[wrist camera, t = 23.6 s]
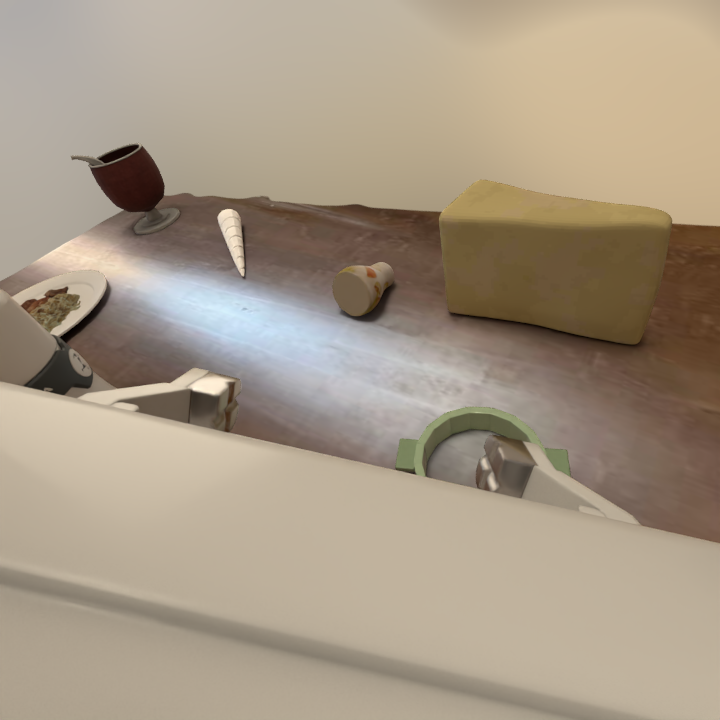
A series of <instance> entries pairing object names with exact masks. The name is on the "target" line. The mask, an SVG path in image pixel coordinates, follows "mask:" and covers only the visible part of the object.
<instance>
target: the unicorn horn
mask: <svg viewBox="0 0 720 720" xmlns="http://www.w3.org/2000/svg"><path fill="white" fill-rule="evenodd" d="M218 223H219V225H220V228H221V230H222V233H223V236H224V238H225V241H226V243H227V246H228V248H229V251H230V253H231V255H232V258H233V260H234V262H235V264H236V266H237V268H238V270H239V272H240V274H241V275H242V276H243V277H244V273H245V269H243V268H245V264H244V249H243V238H242V228H241V218H240V216H239V214H238V213H237V212H236V211H234V210H232V209H226V210H223V211H222V212H221V213H219V216H218Z"/></svg>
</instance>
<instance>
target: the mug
mask: <svg viewBox="0 0 720 720" xmlns="http://www.w3.org/2000/svg"><path fill="white" fill-rule="evenodd" d="M393 281H394V273H393V270H392V268H391V267H390V266H389V265H387V264H386V263H382V262H380V263H376V264H375V265H373V266H350V267H347V268H345V269H343V270H342V271H341V272H339V273H338V274H337V276H336V277H335V279H334V281H333V285H332V288H333V295H334V298H335V300H336V302H337V303H338V305H339V307H340V308H341V309H342V310H344V311H345V312H347V313H348V314H349V315H351V316H360V315H364V314H366V313H368V312H370V311H371V310H373V309H374V308H375V306H376V305H377V304H378V302H379V300H380V298H381V296H382V293H383V291H384V290H385V289H386V288H387V287H388V286H390V285H391V284H392V283H393Z"/></svg>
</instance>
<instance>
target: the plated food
mask: <svg viewBox="0 0 720 720" xmlns="http://www.w3.org/2000/svg"><path fill="white" fill-rule="evenodd" d="M106 288H107V280H106V278H105V276H104V275H103V274H102V273H100V272H99V271H94V270H79V271H73V272H69V273H65V274H61V275H58V276H55V277H52V278H50V279H47V280H45V281H42V282H40V283H38V284H35V285H33V286H31V287H29V288H27V289H25V290H23V291H22V292H20V293H18V294H16V295H15V296H13V297H12V298H13V299H14V300H15V301H16V302H17V303H18V304H19V305H20V306H21V307H22V308H23V309H24V310H26V311H27V312H28V313H29V314H30V315H31V316H32V317H33V318H34V319H35V320H36V321H37V322H38V323H39V324H40V325H41V326H42V327H43V328H45V329H46V330H47V331H48V332H49V333H50V334H53V335H56V336H58V337H60V336H62V335H63V334H65V333H66V332H67V331H69V330H70V329H71V328H73V327H74V326H75V325H77V324H78V323H79V322H80V321H81V320H82V319H83V318H85V317H86V316H87V315H88V314H89V313H90V312H91V311H92V310H93V308H94V307H95V306H96V305H97V304H98V302H99V301H100V300H101V298H102V297H103V295H104V293H105V290H106Z"/></svg>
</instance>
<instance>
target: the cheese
mask: <svg viewBox="0 0 720 720" xmlns="http://www.w3.org/2000/svg"><path fill="white" fill-rule="evenodd" d="M439 225H440V235H441V245H442V255H443V265H444V275H445V286H446V296H447V305H448V310H449V311H450V312H452V313H457V314H465V315H473V316H481V317H488V318H496V319H503V320H510V321H517V322H523V323H528V324H534V325H539V326H543V327H547V328H551V329H555V330H559V331H563V332H567V333H572V334H576V335H581V336H586V337H591V338H596V339H601V340H607V341H612V342H617V343H623V344H637V343H638V342H639V341H640V340H641V338H642V336H643V334H644V331H645V328H646V325H647V322H648V320H649V317H650V314H651V311H652V309H653V306H654V303H655V300H656V297H657V294H658V291H659V288H660V284H661V280H662V276H663V271H664V266H665V261H666V255H667V250H668V244H669V238H670V233H671V228H672V218H671V217H670V215H669V214H667V213H666V212H664V211H661V210H658V209H654V208H650V207H643V206H635V205H623V204H614V203H605V202H597V201H590V200H583V199H576V198H568V197H561V196H555V195H549V194H543V193H538V192H533V191H529V190H525V189H521V188H517V187H514V186H510V185H506V184H502V183H497V182H493V181H488V180H479V181H476V182H475V183H473V184H472V185H471V186H470V187H469V188H468V189H466V190H465V191H464V192H463V193H462V194H461V195H460V196H459V197H457V198H456V199H455V200H454V201H453V202H452V203H451V204H450V205H448V206H447V207H446V209H445V210H444V211H443V212H442V213H441V215H440V218H439Z"/></svg>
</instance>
